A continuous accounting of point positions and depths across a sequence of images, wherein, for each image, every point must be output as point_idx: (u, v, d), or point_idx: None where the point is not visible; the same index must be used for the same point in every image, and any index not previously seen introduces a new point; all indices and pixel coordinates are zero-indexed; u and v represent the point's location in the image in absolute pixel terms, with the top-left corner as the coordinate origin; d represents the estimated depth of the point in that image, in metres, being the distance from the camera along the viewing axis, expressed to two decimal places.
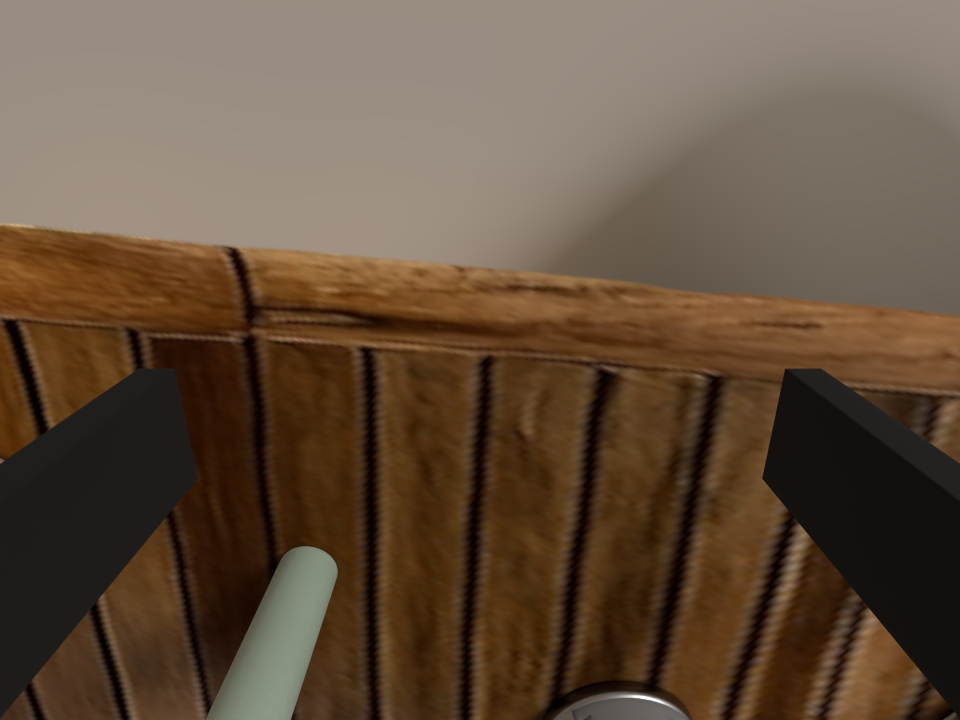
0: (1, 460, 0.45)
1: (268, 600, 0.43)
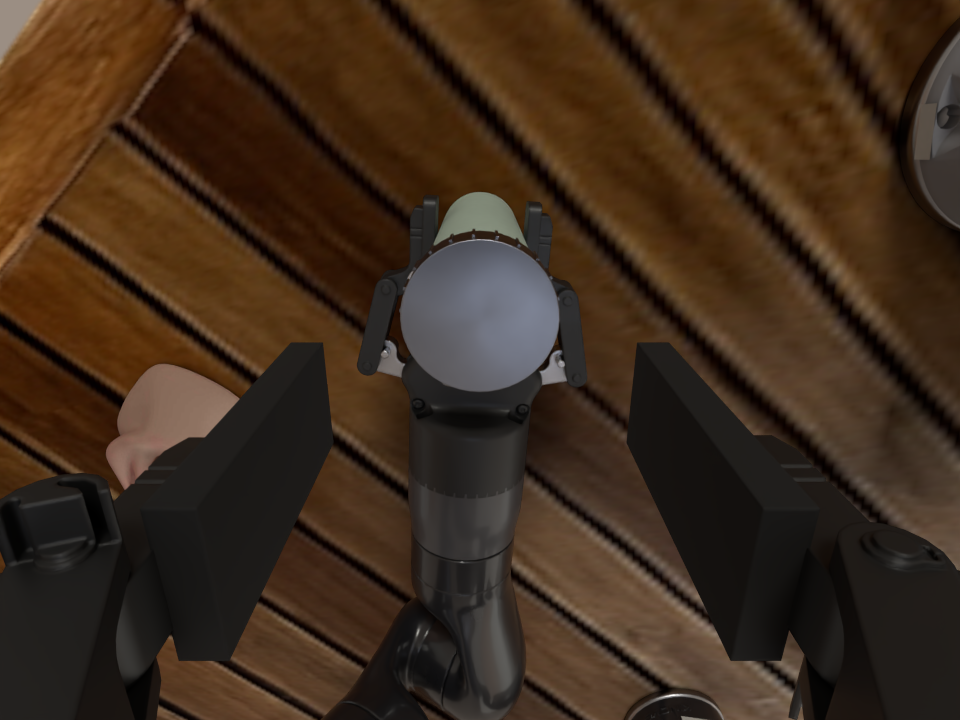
0: (158, 365, 0.42)
1: None
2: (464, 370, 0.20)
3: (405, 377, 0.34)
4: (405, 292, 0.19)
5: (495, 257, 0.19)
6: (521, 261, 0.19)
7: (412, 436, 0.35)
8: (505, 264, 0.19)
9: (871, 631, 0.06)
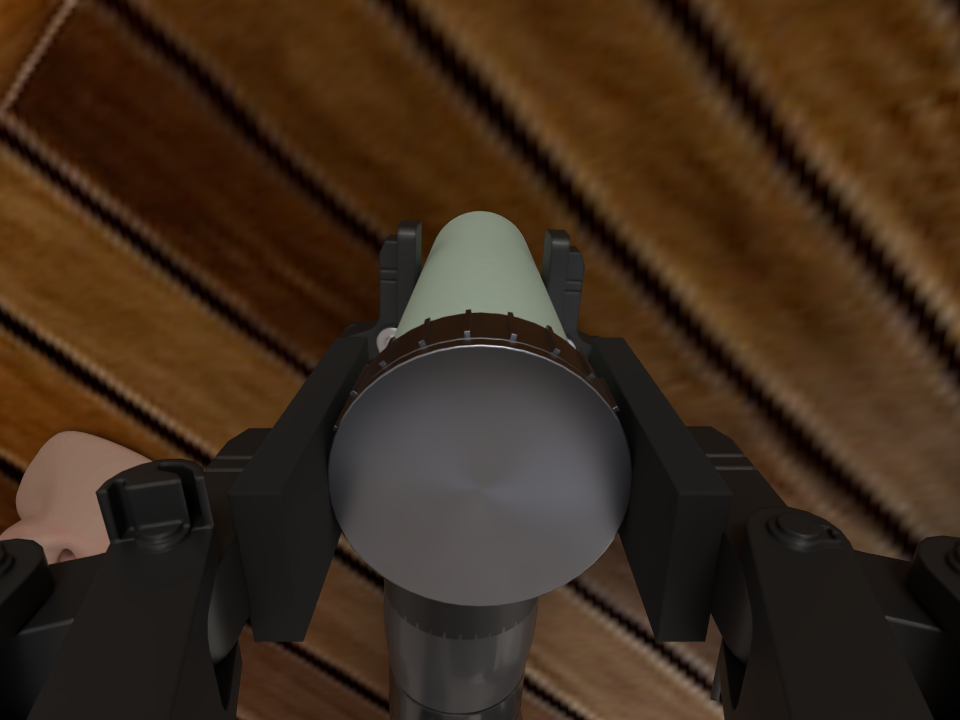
0: (64, 432, 0.32)
1: None
2: (451, 572, 0.11)
3: None
4: (334, 442, 0.10)
5: (510, 378, 0.10)
6: (562, 386, 0.10)
7: None
8: (531, 391, 0.10)
9: (775, 612, 0.06)
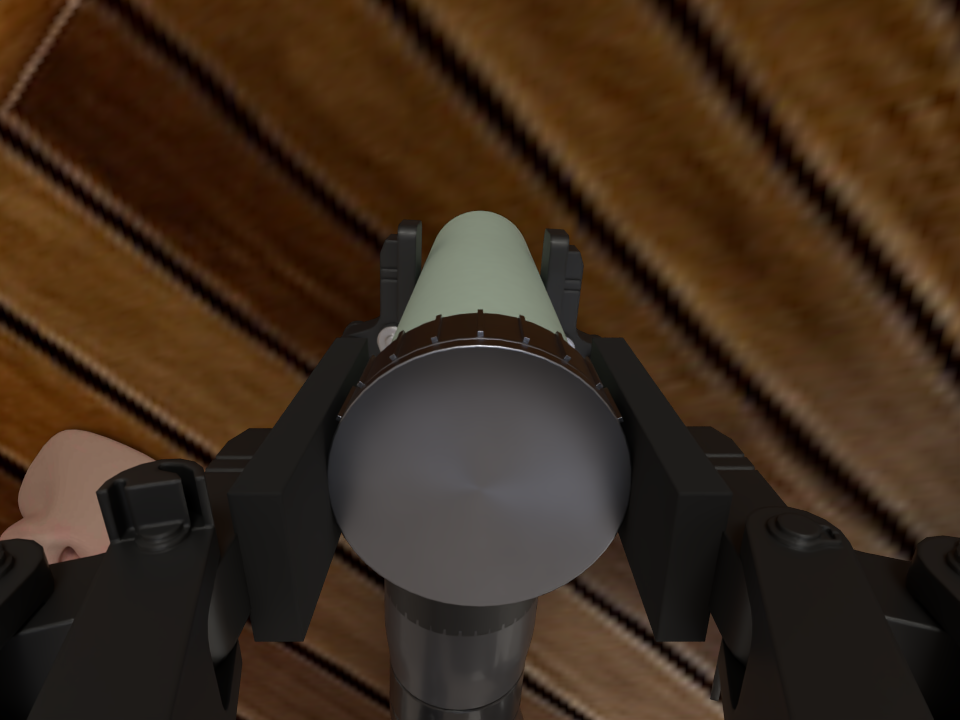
0: (66, 431, 0.32)
1: None
2: (552, 552, 0.11)
3: None
4: (370, 566, 0.11)
5: (384, 414, 0.10)
6: (413, 377, 0.10)
7: None
8: (404, 403, 0.10)
9: (774, 613, 0.06)
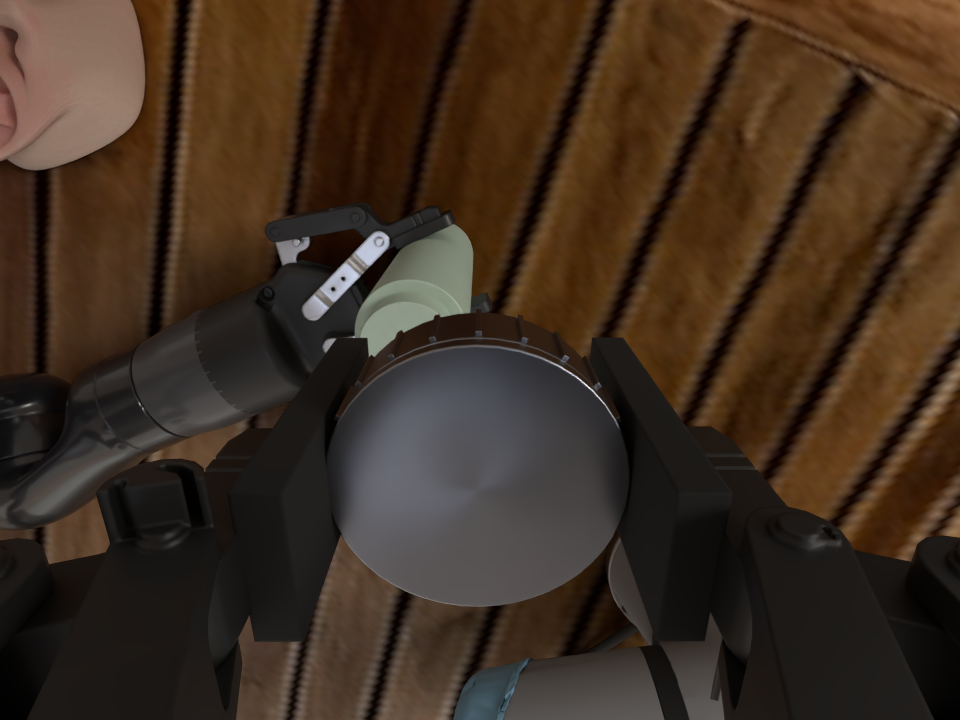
0: None
1: None
2: (550, 552, 0.11)
3: (285, 270, 0.34)
4: (368, 566, 0.11)
5: (381, 414, 0.10)
6: (411, 377, 0.10)
7: (234, 304, 0.34)
8: (402, 403, 0.10)
9: (774, 613, 0.06)
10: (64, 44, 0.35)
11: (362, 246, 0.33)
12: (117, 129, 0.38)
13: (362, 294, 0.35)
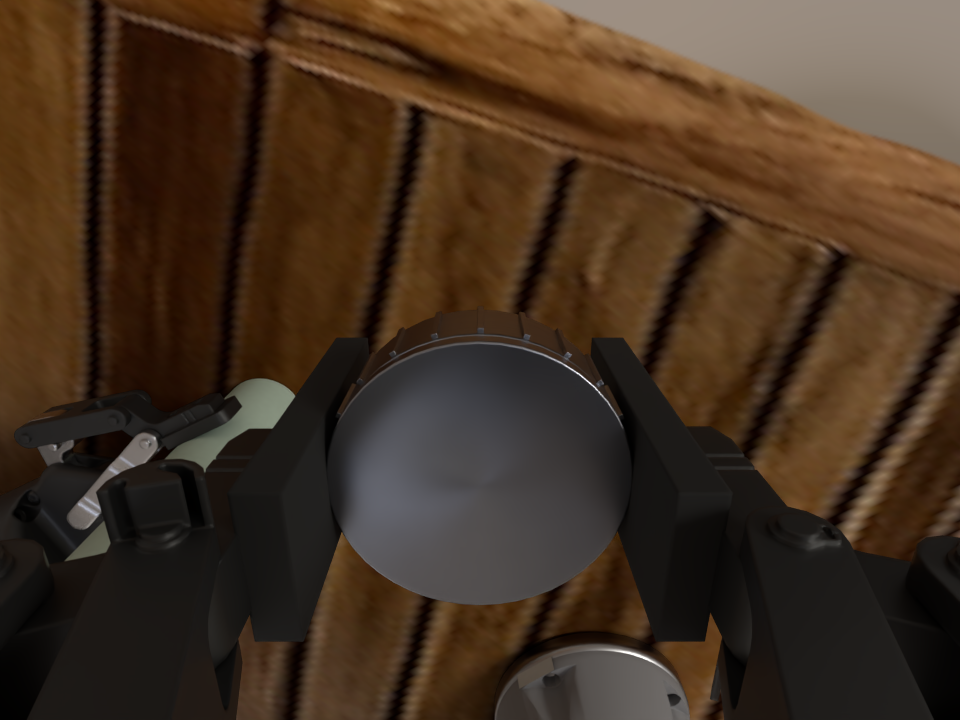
0: None
1: None
2: (552, 550, 0.11)
3: (48, 474, 0.30)
4: (369, 564, 0.11)
5: (383, 411, 0.10)
6: (413, 374, 0.09)
7: None
8: (404, 400, 0.10)
9: (774, 612, 0.06)
10: None
11: (127, 449, 0.29)
12: None
13: None
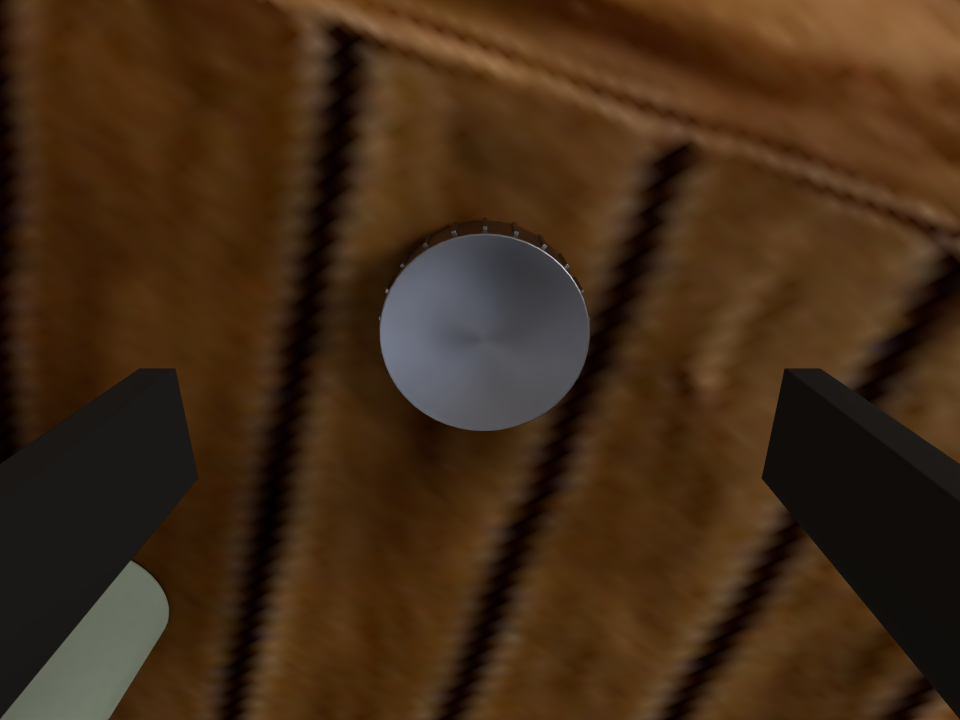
0: None
1: None
2: (535, 388, 0.16)
3: None
4: (407, 399, 0.16)
5: (419, 283, 0.14)
6: (440, 256, 0.14)
7: None
8: (433, 275, 0.14)
9: None
10: None
11: None
12: None
13: None
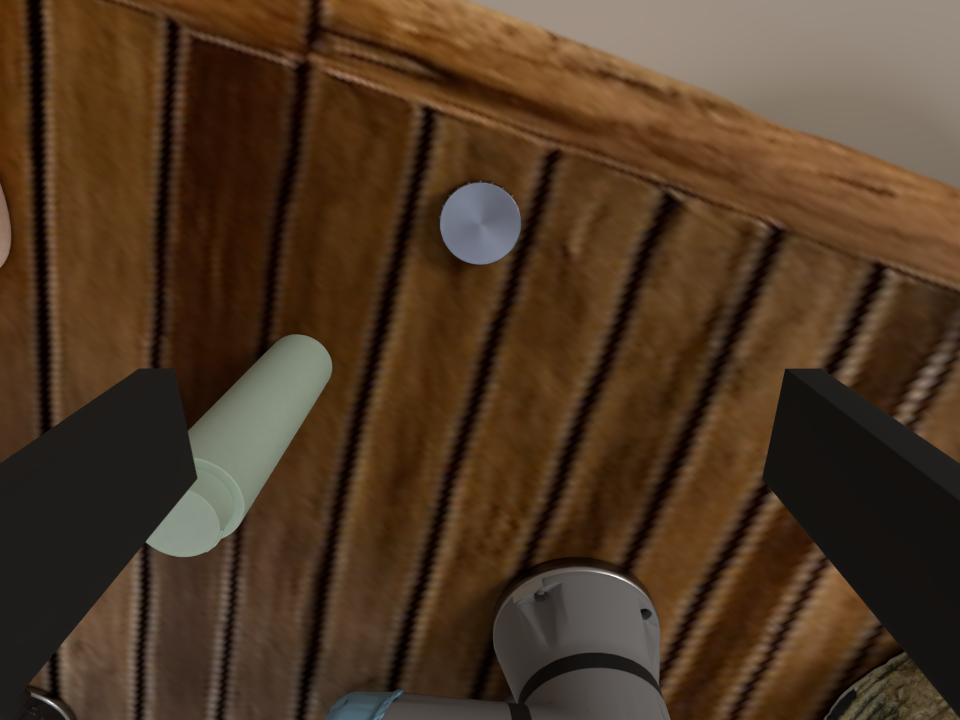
0: None
1: (261, 363, 0.38)
2: (500, 245, 0.39)
3: None
4: (450, 250, 0.40)
5: (456, 201, 0.38)
6: (463, 191, 0.38)
7: None
8: (461, 198, 0.38)
9: None
10: None
11: None
12: None
13: None
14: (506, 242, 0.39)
